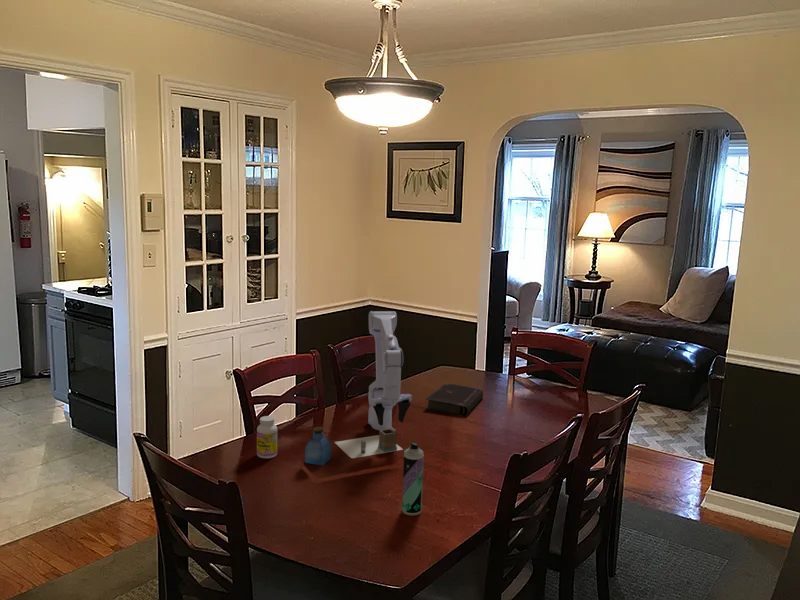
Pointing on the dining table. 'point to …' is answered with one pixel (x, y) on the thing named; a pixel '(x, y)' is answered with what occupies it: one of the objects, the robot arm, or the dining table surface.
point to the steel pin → (363, 446)
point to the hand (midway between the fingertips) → (390, 423)
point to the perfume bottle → (318, 448)
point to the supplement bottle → (267, 438)
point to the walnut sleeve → (387, 440)
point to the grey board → (354, 447)
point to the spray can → (412, 480)
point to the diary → (454, 399)
